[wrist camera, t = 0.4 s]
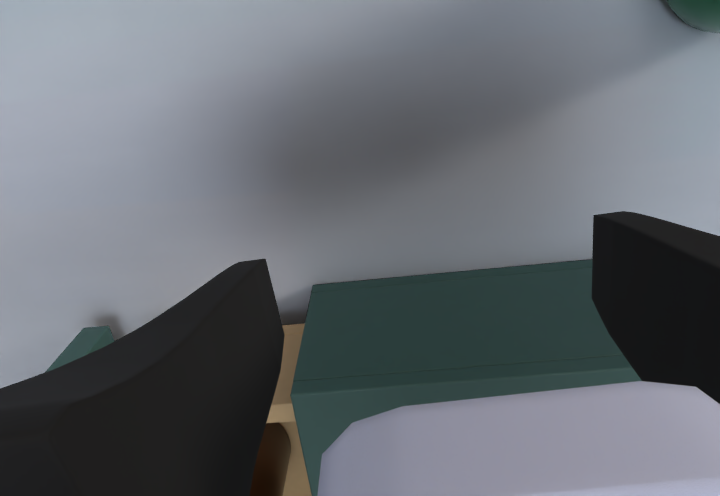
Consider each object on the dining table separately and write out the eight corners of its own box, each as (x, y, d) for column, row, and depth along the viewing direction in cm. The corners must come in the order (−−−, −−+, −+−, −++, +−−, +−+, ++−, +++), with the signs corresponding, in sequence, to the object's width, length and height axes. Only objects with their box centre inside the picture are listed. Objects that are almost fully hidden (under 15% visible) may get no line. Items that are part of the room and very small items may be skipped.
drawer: (90, 530, 29) (33, 640, 24) (-1, 334, 24) (-99, 422, 19) (391, 511, 28) (395, 622, 23) (364, 301, 23) (361, 386, 18)
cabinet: (351, 508, 29) (345, 655, 23) (312, 284, 24) (289, 394, 17) (604, 492, 28) (673, 640, 22) (628, 255, 23) (731, 360, 16)
